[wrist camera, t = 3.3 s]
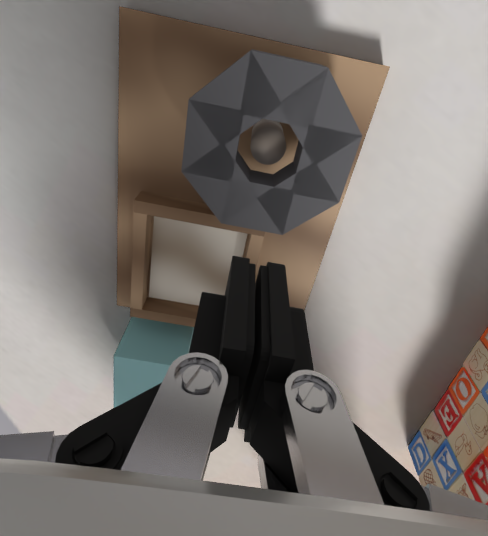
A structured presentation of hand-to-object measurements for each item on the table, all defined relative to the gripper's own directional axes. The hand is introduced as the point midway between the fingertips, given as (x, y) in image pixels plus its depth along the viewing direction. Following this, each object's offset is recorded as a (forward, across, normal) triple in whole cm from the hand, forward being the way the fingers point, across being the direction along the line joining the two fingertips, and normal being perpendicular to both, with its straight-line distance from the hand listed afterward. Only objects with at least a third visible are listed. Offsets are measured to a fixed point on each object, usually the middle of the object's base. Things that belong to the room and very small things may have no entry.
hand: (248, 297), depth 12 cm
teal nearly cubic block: (+14, +5, +17) cm, 22 cm away
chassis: (+14, +1, +3) cm, 14 cm away
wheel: (+10, 0, -2) cm, 10 cm away
